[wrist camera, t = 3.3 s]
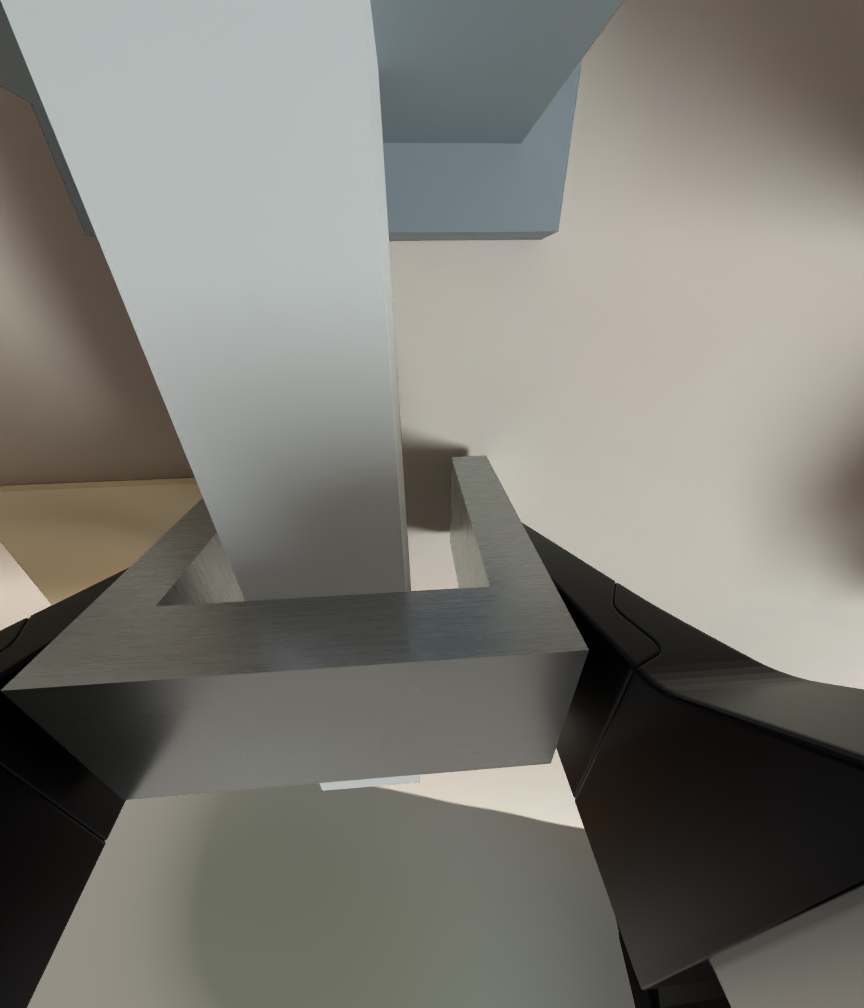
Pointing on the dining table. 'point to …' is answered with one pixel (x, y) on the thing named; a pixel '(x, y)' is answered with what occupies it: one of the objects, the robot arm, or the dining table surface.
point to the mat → (88, 527)
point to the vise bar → (296, 227)
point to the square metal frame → (312, 667)
